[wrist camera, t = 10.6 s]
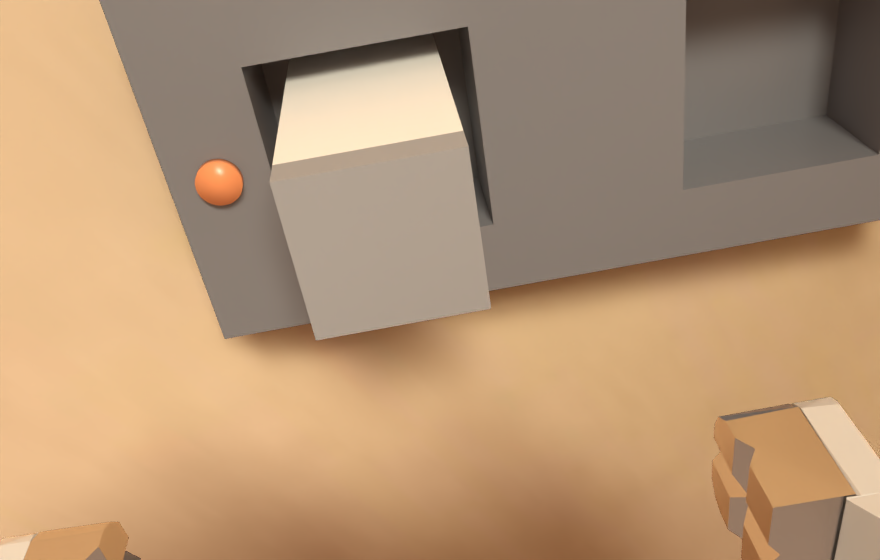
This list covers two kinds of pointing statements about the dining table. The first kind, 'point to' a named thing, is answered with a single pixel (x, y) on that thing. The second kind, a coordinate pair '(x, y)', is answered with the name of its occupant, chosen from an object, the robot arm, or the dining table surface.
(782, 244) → the dining table surface
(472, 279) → the plug
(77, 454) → the dining table surface
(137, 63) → the power strip
